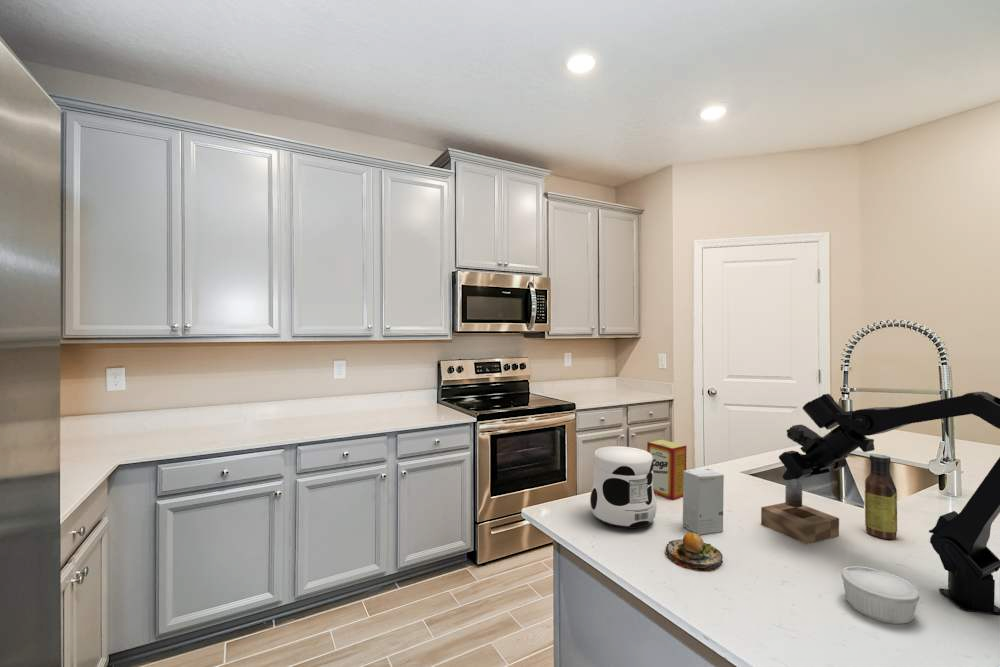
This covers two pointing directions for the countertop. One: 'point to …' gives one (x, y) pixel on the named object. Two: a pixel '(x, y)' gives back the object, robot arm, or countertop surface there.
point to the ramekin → (880, 594)
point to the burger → (694, 553)
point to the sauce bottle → (880, 499)
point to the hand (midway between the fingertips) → (788, 477)
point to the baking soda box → (668, 468)
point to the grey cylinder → (794, 492)
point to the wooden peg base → (800, 522)
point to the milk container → (623, 487)
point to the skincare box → (703, 501)
